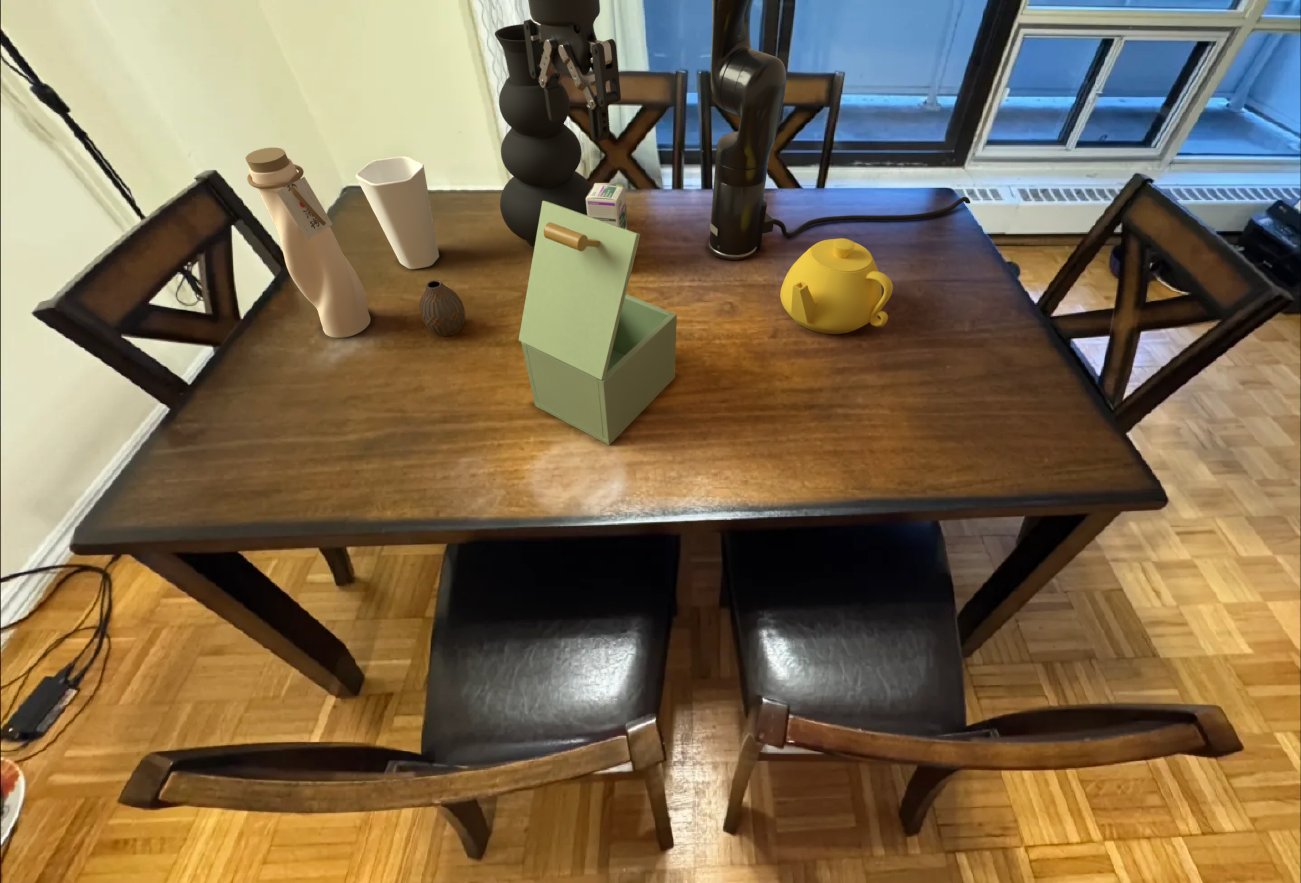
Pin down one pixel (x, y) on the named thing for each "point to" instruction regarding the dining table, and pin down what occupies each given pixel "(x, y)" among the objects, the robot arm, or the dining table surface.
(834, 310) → the teapot
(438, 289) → the vase
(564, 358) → the lid
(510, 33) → the vase
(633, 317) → the chest
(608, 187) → the syrup box
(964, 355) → the dining table surface
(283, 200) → the water bottle
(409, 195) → the cup
